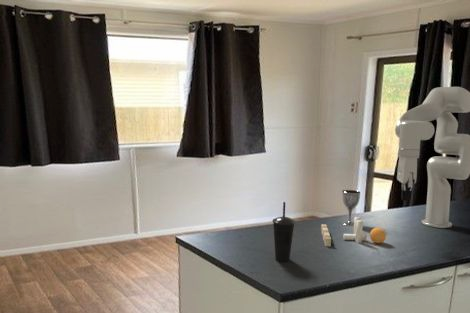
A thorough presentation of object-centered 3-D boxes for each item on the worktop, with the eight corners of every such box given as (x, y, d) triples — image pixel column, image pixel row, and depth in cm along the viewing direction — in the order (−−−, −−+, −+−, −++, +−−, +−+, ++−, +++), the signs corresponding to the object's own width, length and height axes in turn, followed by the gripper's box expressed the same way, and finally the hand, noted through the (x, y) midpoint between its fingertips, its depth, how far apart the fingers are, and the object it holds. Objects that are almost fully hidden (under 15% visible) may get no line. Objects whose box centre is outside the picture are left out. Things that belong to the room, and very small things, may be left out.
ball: (375, 222, 164) (386, 229, 166) (364, 231, 166) (375, 238, 168) (380, 231, 159) (391, 239, 161) (369, 241, 161) (380, 248, 163)
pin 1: (352, 237, 171) (354, 216, 170) (358, 237, 170) (360, 217, 169) (353, 239, 168) (354, 218, 167) (359, 239, 168) (361, 218, 167)
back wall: (321, 231, 178) (321, 224, 178) (325, 231, 178) (326, 224, 178) (325, 246, 158) (325, 238, 158) (330, 246, 158) (331, 238, 158)
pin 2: (354, 241, 166) (356, 220, 165) (361, 241, 165) (362, 220, 164) (355, 242, 163) (357, 221, 162) (362, 243, 163) (363, 222, 162)
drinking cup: (296, 257, 146) (298, 201, 143) (289, 264, 139) (291, 205, 136) (275, 254, 149) (277, 199, 146) (268, 260, 142) (269, 203, 140)
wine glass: (344, 220, 197) (345, 189, 195) (361, 223, 192) (362, 191, 191) (337, 223, 190) (339, 191, 189) (354, 227, 186) (356, 193, 184)
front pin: (365, 240, 168) (343, 238, 169) (365, 234, 167) (343, 232, 169) (366, 241, 165) (344, 240, 166) (366, 235, 165) (344, 234, 166)
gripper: (393, 151, 169) (391, 196, 171) (404, 155, 154) (400, 204, 156) (413, 151, 168) (410, 196, 170) (425, 155, 153) (421, 204, 155)
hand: (405, 200), depth 163 cm, fingers closed
